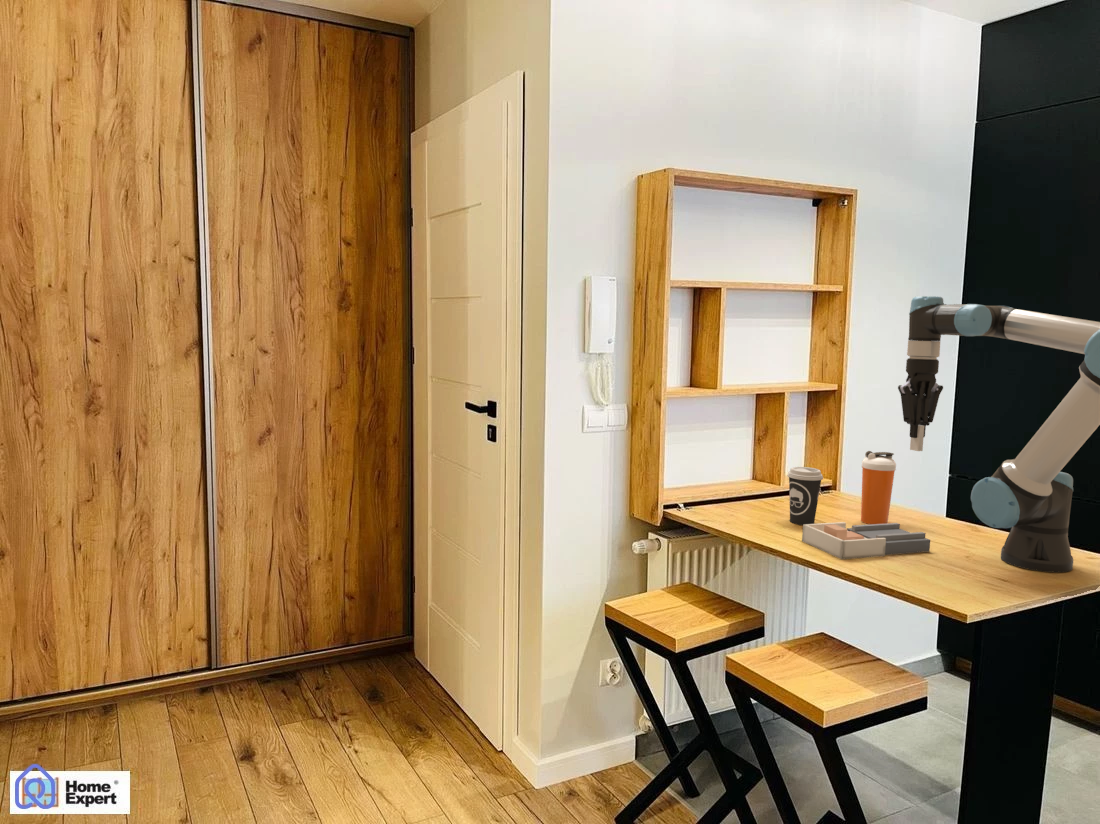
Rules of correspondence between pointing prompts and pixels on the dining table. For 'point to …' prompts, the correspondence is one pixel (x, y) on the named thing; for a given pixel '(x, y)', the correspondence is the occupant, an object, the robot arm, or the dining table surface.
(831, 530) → the tile
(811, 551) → the dining table surface
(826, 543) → the tray
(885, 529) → the grey railed fixture
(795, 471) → the coffee cup
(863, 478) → the shaker bottle
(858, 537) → the tile
